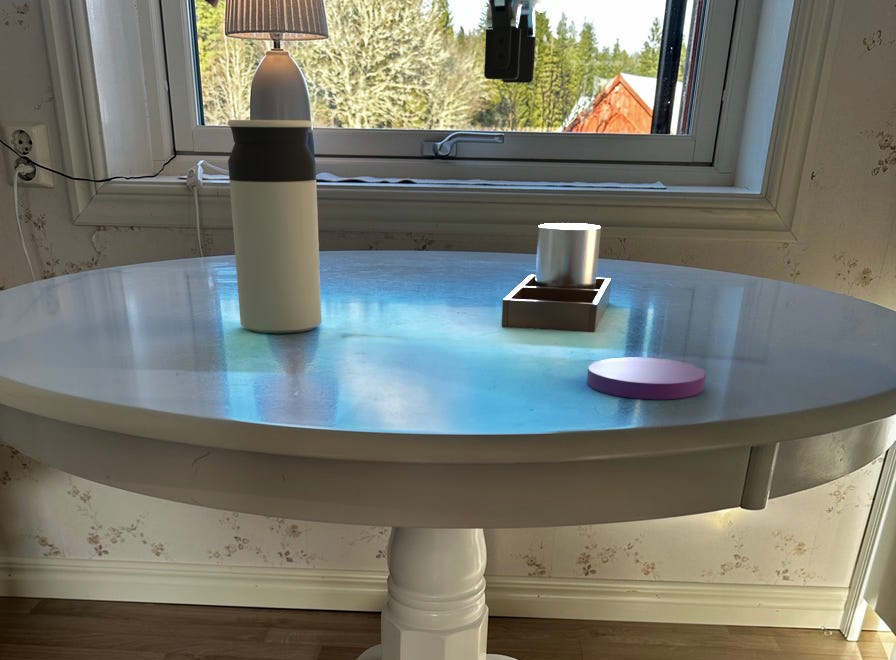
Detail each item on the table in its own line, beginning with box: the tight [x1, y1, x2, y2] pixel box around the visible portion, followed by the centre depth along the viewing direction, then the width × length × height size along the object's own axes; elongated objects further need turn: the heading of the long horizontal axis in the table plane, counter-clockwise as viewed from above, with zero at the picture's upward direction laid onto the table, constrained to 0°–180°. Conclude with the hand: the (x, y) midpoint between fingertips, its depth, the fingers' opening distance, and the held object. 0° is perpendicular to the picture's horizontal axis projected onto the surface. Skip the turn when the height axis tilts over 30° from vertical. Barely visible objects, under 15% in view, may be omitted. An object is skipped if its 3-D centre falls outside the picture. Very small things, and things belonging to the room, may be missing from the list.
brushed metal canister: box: [535, 222, 602, 290], centre depth 101 cm, size 6×6×8 cm
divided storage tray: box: [501, 274, 612, 333], centre depth 99 cm, size 9×17×3 cm, turn 165°
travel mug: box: [227, 119, 323, 334], centre depth 90 cm, size 8×8×18 cm
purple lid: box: [586, 356, 707, 401], centre depth 75 cm, size 9×9×1 cm
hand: (509, 80), depth 94 cm, fingers open, 9 cm apart
